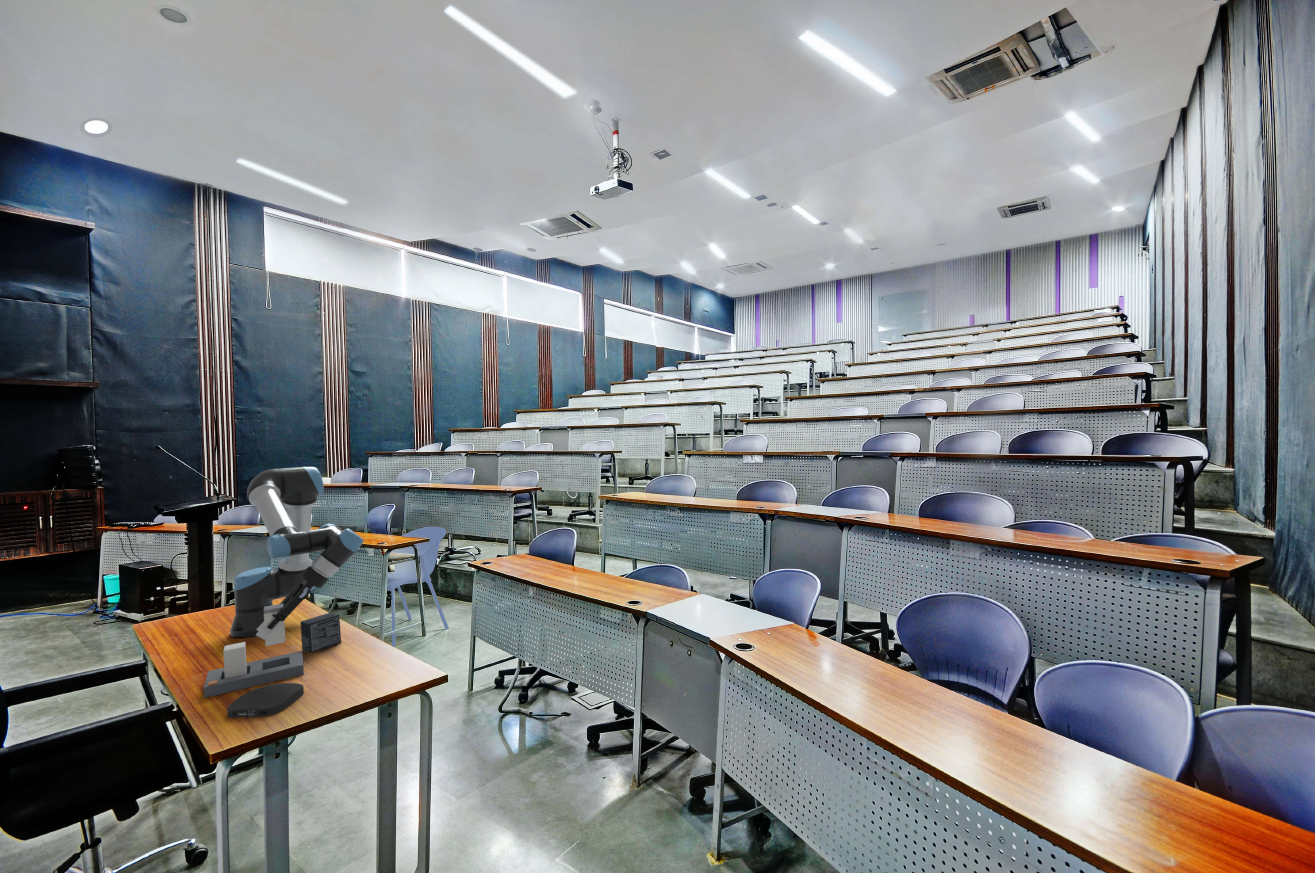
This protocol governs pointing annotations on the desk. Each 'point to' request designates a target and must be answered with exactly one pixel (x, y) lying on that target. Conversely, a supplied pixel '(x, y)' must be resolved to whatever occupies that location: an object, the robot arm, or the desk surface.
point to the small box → (320, 632)
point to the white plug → (279, 630)
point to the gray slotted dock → (250, 670)
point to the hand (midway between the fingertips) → (260, 634)
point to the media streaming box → (265, 700)
